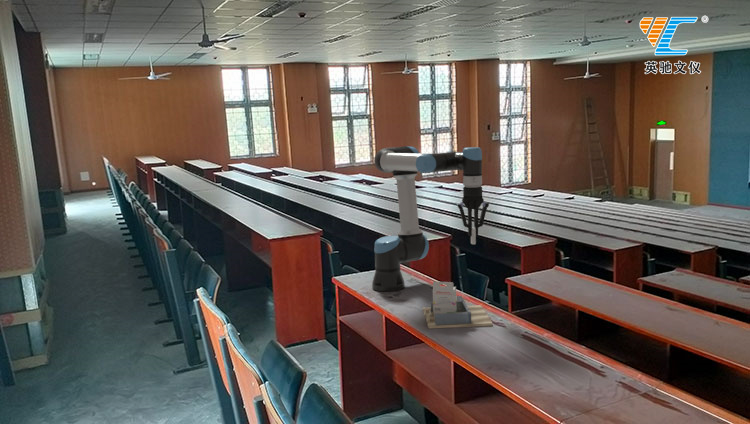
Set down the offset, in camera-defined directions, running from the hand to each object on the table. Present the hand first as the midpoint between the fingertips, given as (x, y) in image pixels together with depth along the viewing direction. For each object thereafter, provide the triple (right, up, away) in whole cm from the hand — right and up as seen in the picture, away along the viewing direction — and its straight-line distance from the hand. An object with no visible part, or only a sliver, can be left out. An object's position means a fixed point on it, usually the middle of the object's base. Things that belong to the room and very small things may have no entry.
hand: (473, 243), depth 238 cm
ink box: (-13, -28, -10) cm, 33 cm away
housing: (-11, -27, -9) cm, 31 cm away
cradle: (-8, -29, -9) cm, 31 cm away
